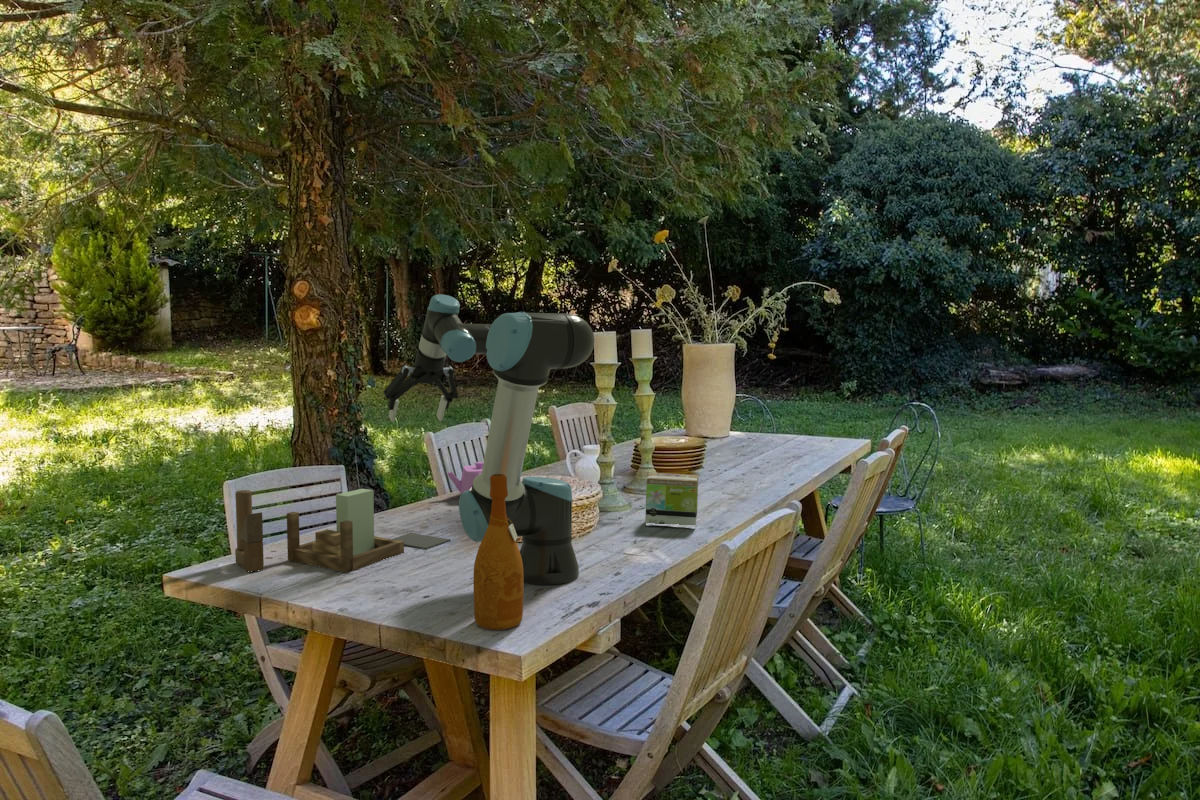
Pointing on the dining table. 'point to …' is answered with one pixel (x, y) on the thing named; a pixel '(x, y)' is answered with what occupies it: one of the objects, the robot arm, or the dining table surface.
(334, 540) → the walnut offcut
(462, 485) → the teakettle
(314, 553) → the rack
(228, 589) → the dining table surface
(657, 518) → the tea box
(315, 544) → the oak offcut
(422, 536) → the felt mat
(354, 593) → the dining table surface
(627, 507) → the dining table surface
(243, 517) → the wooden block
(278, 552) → the dining table surface
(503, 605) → the wine bottle
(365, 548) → the sage block
